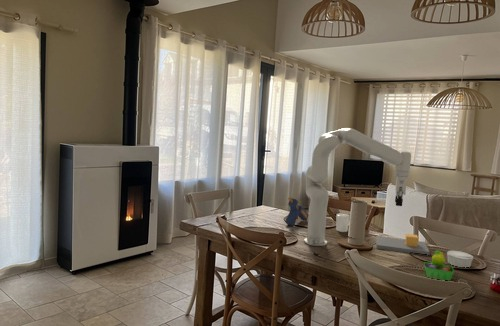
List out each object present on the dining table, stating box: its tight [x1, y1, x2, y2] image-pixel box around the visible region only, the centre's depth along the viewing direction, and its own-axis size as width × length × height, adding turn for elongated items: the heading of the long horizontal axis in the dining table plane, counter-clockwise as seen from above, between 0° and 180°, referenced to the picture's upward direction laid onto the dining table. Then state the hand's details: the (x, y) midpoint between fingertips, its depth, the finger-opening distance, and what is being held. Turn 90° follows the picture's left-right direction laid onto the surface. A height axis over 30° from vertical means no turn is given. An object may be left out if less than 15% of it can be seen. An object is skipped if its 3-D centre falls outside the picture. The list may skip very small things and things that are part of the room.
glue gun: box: [285, 197, 309, 227], centre depth 241 cm, size 6×31×15 cm
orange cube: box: [405, 233, 419, 247], centre depth 202 cm, size 6×6×5 cm
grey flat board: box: [375, 235, 431, 256], centre depth 204 cm, size 18×26×2 cm
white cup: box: [335, 213, 350, 233], centre depth 231 cm, size 8×8×10 cm
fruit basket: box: [423, 250, 455, 281], centre depth 163 cm, size 11×9×11 cm
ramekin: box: [446, 250, 474, 269], centre depth 181 cm, size 11×11×5 cm
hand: (398, 204), depth 207 cm, fingers open, 9 cm apart
